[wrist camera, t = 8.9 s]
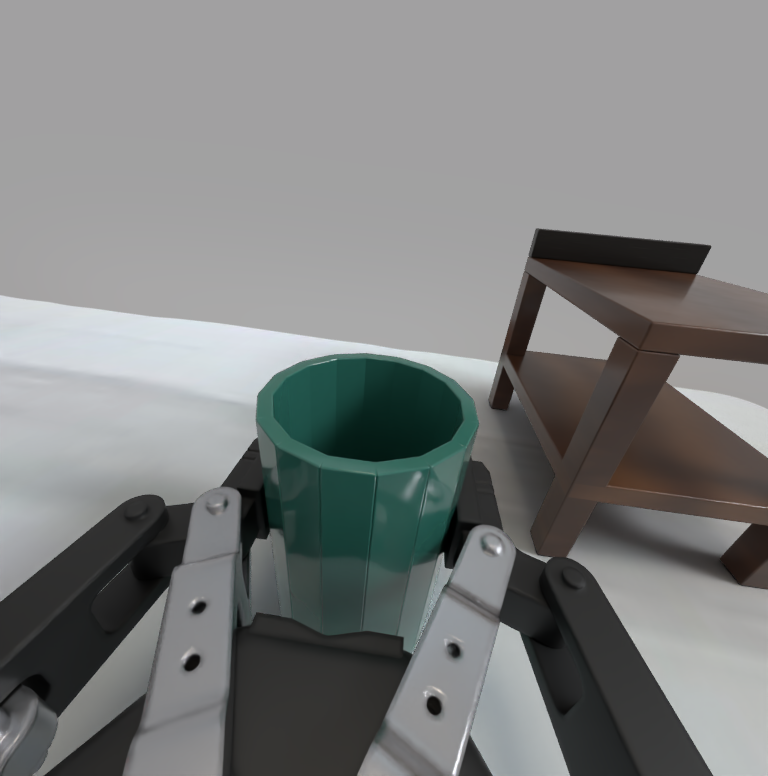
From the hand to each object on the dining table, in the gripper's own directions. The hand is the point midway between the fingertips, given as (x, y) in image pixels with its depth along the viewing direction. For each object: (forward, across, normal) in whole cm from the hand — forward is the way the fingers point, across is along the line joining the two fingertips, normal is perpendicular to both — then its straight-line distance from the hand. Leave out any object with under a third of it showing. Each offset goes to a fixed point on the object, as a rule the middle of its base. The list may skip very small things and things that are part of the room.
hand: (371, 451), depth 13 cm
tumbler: (-2, 0, +6) cm, 6 cm away
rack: (+9, -14, +6) cm, 17 cm away
